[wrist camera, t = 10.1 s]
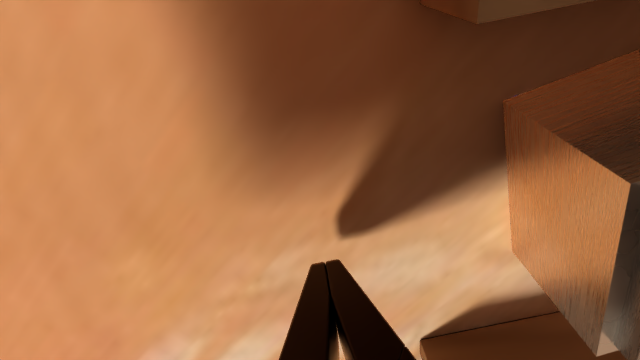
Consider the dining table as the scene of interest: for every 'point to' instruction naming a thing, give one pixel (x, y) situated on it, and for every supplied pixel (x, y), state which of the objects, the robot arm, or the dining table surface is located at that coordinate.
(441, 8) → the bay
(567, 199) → the light grey small box
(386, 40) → the dining table surface
